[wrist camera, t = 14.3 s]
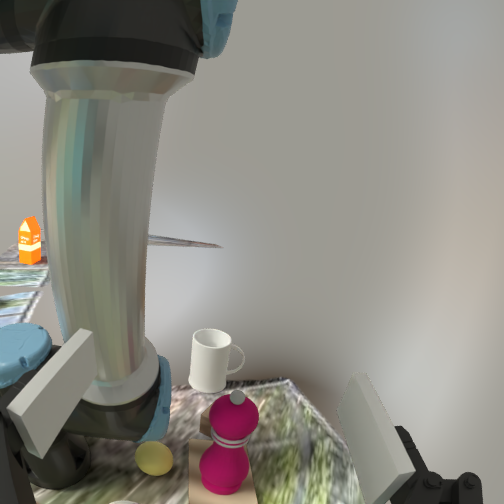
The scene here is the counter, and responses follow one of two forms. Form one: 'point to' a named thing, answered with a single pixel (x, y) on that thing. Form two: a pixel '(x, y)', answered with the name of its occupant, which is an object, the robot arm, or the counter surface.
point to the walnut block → (206, 422)
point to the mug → (211, 360)
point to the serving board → (204, 500)
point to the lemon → (154, 458)
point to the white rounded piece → (123, 502)
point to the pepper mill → (228, 443)
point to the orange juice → (29, 241)
